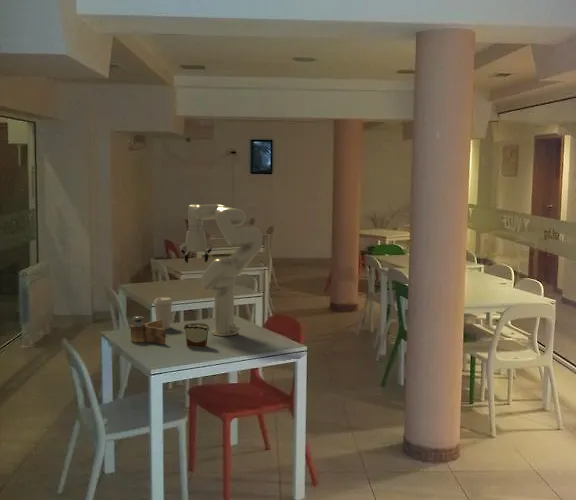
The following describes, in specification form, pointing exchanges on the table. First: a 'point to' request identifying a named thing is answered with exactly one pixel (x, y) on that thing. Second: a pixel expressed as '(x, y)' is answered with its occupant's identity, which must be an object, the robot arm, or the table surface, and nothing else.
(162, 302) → the coffee cup
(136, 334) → the hinge
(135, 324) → the pin
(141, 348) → the table surface
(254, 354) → the table surface
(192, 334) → the food container
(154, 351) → the table surface
